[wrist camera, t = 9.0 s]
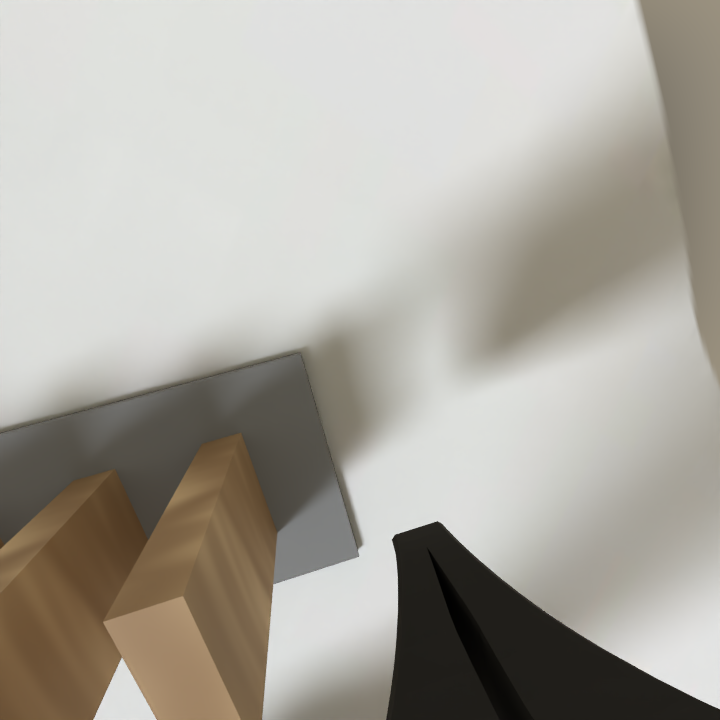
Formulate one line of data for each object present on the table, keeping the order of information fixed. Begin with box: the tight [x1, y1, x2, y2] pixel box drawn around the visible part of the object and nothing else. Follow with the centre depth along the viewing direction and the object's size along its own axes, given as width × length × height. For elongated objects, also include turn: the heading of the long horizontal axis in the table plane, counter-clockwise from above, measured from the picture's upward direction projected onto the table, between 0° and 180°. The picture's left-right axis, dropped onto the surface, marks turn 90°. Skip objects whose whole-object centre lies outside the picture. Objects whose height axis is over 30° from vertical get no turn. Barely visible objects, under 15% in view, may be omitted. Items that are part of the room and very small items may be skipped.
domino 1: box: [0, 469, 148, 720], centre depth 12 cm, size 2×5×8 cm, turn 14°
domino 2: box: [103, 433, 277, 720], centre depth 12 cm, size 2×5×8 cm, turn 14°
